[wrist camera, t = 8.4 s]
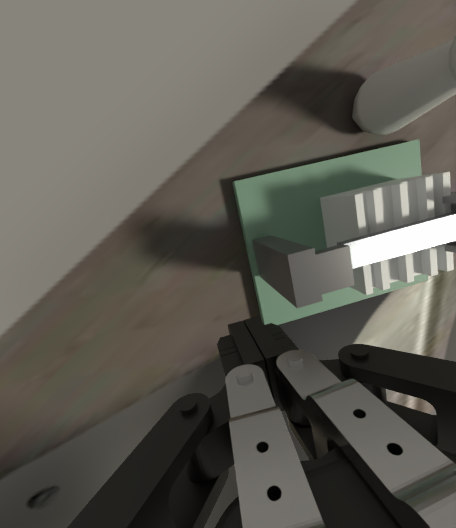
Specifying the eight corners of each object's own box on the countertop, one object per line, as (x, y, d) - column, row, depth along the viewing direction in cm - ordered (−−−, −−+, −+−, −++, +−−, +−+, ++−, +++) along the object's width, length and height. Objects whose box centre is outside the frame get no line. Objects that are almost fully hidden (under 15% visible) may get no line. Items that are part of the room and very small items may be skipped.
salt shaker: (386, 71, 29) (548, -36, 16) (399, 127, 30) (558, 68, 17) (337, 92, 28) (463, -1, 16) (352, 148, 30) (480, 103, 17)
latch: (300, 265, 30) (355, 291, 20) (259, 276, 29) (297, 308, 20) (294, 229, 29) (348, 238, 19) (252, 239, 28) (287, 255, 19)
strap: (467, 237, 25) (483, 238, 24) (339, 272, 24) (349, 276, 22) (466, 202, 24) (483, 201, 23) (334, 236, 23) (344, 238, 22)
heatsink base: (421, 277, 34) (509, 302, 25) (262, 324, 32) (296, 370, 23) (411, 141, 31) (511, 112, 21) (232, 182, 28) (257, 169, 19)
